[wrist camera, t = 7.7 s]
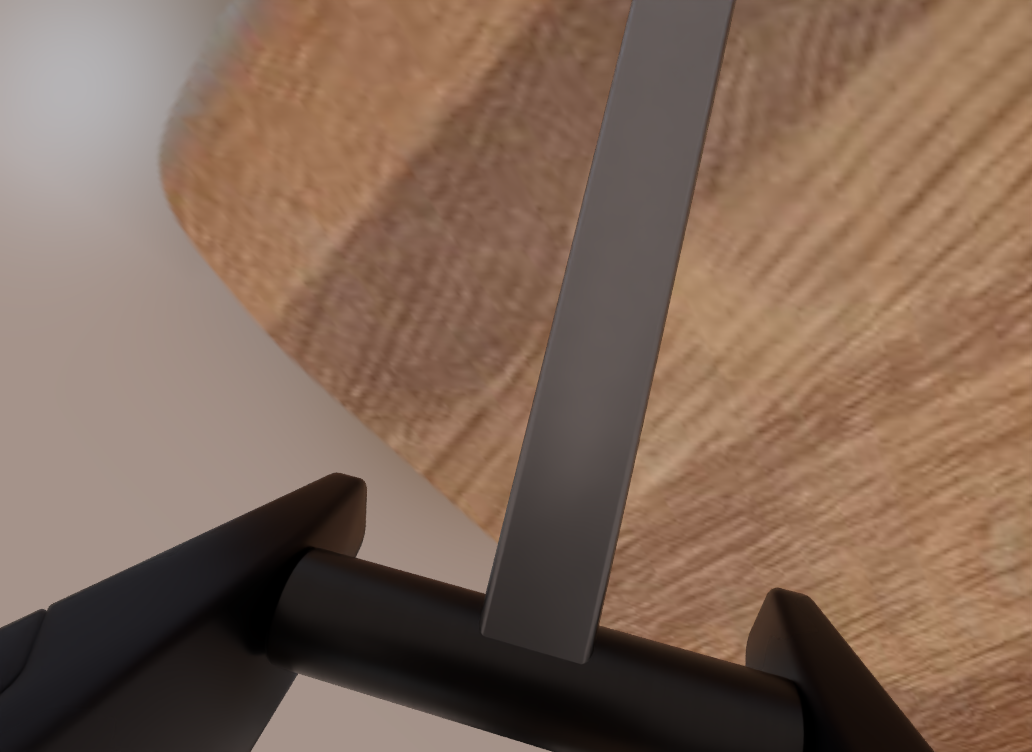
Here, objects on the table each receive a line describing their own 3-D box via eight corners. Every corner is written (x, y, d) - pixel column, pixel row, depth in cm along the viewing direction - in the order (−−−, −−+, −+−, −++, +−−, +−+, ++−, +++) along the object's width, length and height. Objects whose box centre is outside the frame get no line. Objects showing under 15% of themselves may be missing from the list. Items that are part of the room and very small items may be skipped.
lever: (741, 762, 7) (821, 894, 5) (322, 637, 8) (212, 699, 5) (946, -372, 10) (1066, -654, 7) (613, -395, 10) (623, -660, 8)
